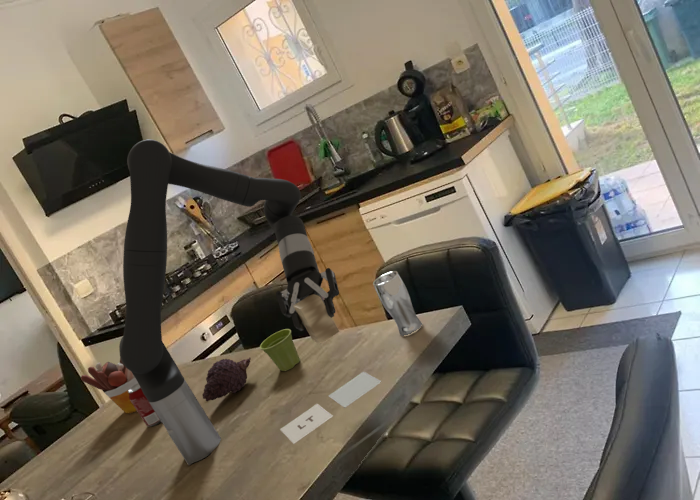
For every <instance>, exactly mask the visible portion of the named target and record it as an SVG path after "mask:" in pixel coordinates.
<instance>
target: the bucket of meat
mask: <svg viewBox="0 0 700 500" xmlns="http://www.w3.org/2000/svg"><path fill="white" fill-rule="evenodd" d="M87 372H88V374H89V375H90V376H89V375H87V374H82V375H81V376H80V379H81V381H82V382H84V383H86V384H87V385H90V386H91V387H94V388H95V389H97V390H101V391H102V392H103V393H104V394H105V395H106V397H108V398H109V399H110V400H112V402H113V403H115V405H116V406H118V408H120V410H122V411H123V413H126V414H133V413H136V412H137V410H136V408H135V407H134V405H133V404H132V402H131V401H130V399H129V393H128V390H129V389H130V388H131V387H132V386H134V385H135V384H137V383H138V382H137V380H136V378H135V377H134V375H133V373H132V372H131V371H130V370H128V369H127V368H126V367H125V366H124V364H123V363H122V361H121V358H119V362H118V363H117V364H115V363H112V362H110V361H107V362H105V363H104V364H103V365H102V363H101V362H97V363H96V364H95V367H94V366H90V367H88V368H87ZM137 413H138V412H137Z"/></svg>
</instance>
